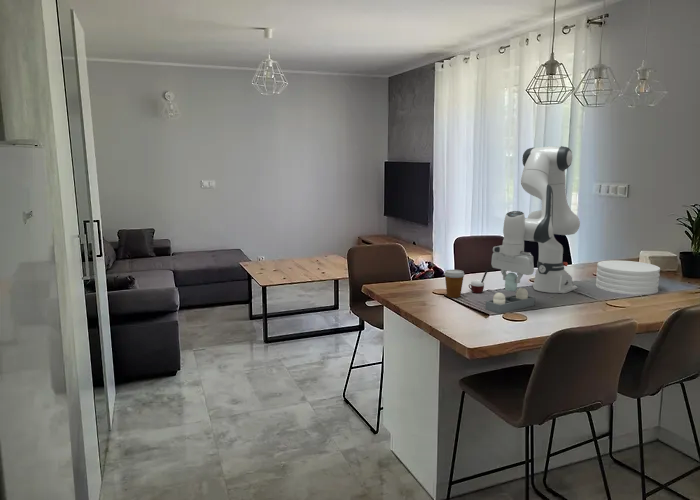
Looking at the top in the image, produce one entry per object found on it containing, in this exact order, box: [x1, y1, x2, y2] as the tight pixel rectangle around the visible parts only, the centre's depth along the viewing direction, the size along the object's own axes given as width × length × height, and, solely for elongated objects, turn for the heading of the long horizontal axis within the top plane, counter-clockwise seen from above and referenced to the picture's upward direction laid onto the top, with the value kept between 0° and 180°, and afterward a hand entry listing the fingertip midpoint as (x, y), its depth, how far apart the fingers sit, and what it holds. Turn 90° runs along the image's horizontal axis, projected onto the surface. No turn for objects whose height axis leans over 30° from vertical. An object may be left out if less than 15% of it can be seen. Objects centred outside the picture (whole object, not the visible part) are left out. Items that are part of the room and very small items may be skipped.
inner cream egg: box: [515, 287, 529, 300], centre depth 237 cm, size 5×5×8 cm
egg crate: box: [485, 294, 536, 314], centre depth 234 cm, size 22×8×4 cm, turn 123°
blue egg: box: [504, 272, 518, 292], centre depth 232 cm, size 5×5×8 cm
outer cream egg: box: [492, 292, 506, 305], centre depth 229 cm, size 5×5×8 cm
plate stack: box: [595, 259, 661, 296], centre depth 271 cm, size 28×28×12 cm
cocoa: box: [468, 268, 489, 294], centre depth 262 cm, size 10×6×12 cm, turn 30°
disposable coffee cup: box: [443, 269, 465, 299], centre depth 255 cm, size 10×10×12 cm
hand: (511, 281), depth 232 cm, fingers closed on blue egg, 5 cm apart
